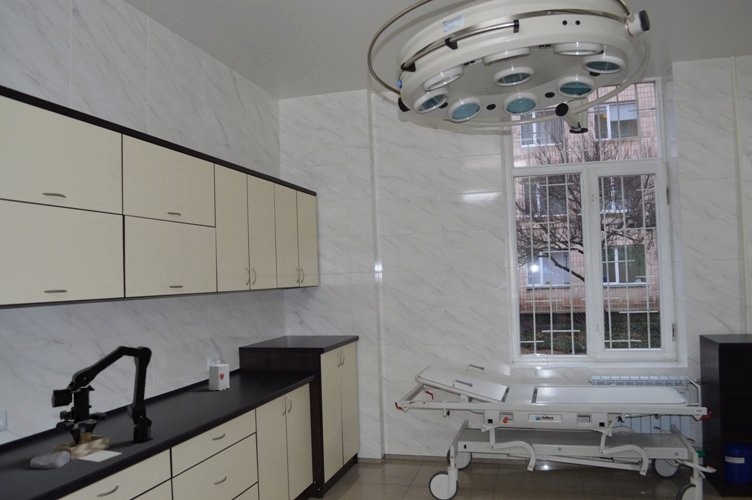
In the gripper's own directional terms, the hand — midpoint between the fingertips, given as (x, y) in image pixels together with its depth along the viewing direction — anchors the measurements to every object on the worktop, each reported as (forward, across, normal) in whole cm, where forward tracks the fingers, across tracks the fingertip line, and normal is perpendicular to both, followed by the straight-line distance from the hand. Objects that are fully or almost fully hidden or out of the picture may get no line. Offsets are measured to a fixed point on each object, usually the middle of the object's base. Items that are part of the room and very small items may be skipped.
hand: (82, 443), depth 228 cm
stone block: (+4, +15, +1) cm, 15 cm away
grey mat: (+4, +1, +12) cm, 12 cm away
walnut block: (0, 0, 0) cm, 0 cm away
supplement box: (+4, -123, -36) cm, 128 cm away
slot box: (+4, 0, 0) cm, 4 cm away
